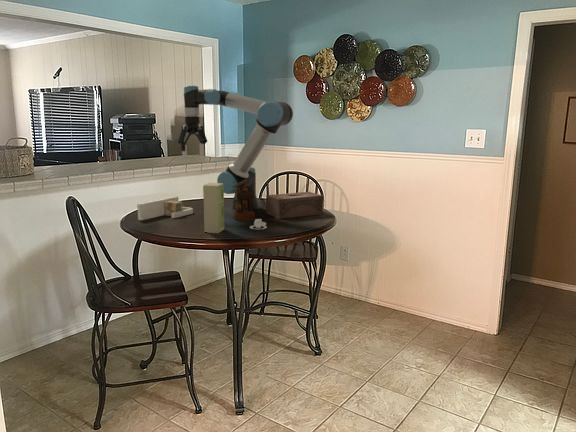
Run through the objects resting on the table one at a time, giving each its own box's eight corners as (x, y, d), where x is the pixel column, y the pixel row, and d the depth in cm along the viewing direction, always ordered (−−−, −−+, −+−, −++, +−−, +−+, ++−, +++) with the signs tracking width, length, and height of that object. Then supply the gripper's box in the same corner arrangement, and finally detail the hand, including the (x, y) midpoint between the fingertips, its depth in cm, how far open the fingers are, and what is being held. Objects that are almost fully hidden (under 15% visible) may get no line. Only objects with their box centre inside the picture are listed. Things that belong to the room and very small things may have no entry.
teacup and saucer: (263, 225, 222) (263, 216, 221) (271, 228, 215) (271, 219, 215) (246, 227, 217) (246, 218, 217) (254, 231, 211) (254, 222, 210)
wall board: (194, 213, 248) (194, 198, 246) (155, 222, 225) (154, 206, 223) (178, 210, 254) (177, 196, 253) (138, 220, 231) (137, 204, 229)
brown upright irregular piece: (245, 222, 225) (241, 181, 222) (227, 221, 231) (224, 182, 228) (263, 217, 238) (260, 178, 235) (246, 216, 244) (243, 178, 240)
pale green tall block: (220, 233, 205) (218, 185, 200) (204, 232, 206) (202, 185, 202) (226, 229, 212) (225, 183, 208) (210, 228, 214) (209, 182, 209)
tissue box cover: (278, 219, 235) (278, 199, 233) (266, 213, 247) (266, 195, 245) (322, 214, 247) (323, 195, 245) (308, 209, 259) (309, 191, 257)
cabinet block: (182, 215, 243) (181, 201, 242) (175, 216, 239) (174, 203, 238) (172, 213, 247) (172, 200, 246) (165, 215, 243) (164, 201, 241)
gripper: (202, 116, 261) (203, 154, 265) (169, 116, 240) (171, 157, 244) (212, 116, 257) (214, 155, 261) (180, 116, 236) (182, 158, 240)
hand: (193, 156), depth 253 cm, fingers open, 13 cm apart
